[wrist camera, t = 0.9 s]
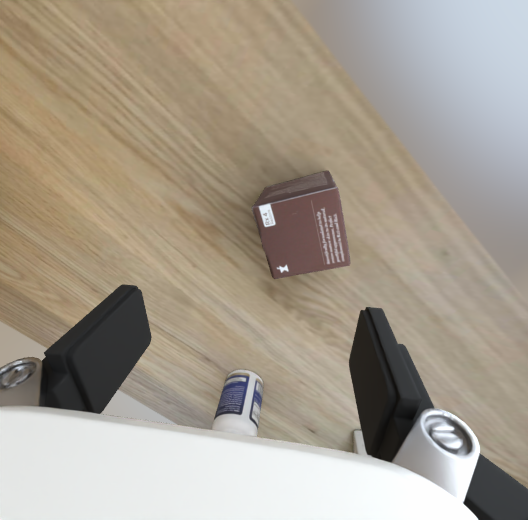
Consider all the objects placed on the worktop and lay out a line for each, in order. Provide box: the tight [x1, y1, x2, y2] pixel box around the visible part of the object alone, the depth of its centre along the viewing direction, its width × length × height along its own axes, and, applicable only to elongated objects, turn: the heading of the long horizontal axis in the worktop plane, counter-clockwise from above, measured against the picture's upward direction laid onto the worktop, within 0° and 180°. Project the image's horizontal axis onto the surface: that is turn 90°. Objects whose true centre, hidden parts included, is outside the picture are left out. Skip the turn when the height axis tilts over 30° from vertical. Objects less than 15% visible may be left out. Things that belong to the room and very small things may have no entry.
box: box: [252, 171, 350, 279], centre depth 22 cm, size 6×6×7 cm
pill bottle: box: [212, 370, 264, 437], centre depth 33 cm, size 5×5×10 cm
